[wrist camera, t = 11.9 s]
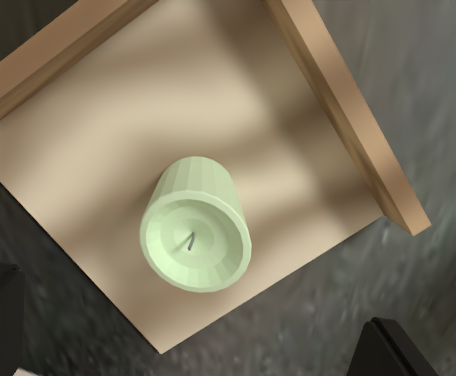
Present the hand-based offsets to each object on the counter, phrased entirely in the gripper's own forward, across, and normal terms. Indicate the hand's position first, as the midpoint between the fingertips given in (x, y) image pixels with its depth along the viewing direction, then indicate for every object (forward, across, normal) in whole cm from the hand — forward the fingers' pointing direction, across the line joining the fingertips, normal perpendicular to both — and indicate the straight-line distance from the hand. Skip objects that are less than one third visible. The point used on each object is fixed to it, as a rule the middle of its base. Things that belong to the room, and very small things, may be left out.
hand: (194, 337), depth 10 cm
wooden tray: (+14, +1, -1) cm, 14 cm away
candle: (+14, +1, 0) cm, 14 cm away
